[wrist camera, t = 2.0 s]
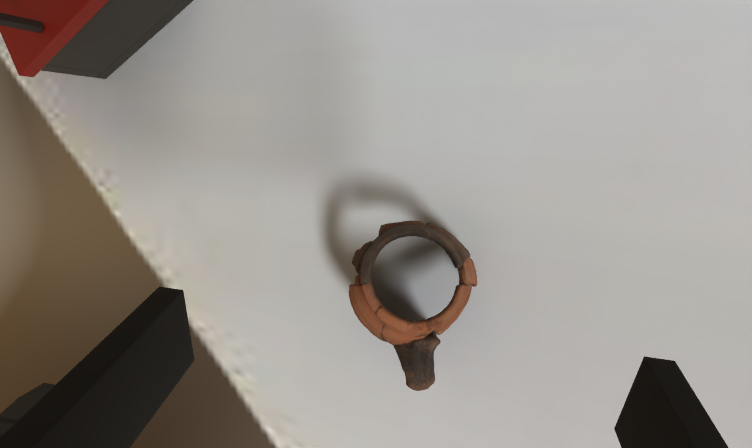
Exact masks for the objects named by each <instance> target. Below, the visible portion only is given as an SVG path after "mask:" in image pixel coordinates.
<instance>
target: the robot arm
mask: <svg viewBox="0 0 752 448" xmlns="http://www.w3.org/2000/svg"><path fill="white" fill-rule="evenodd" d="M193 361H194V355H193V348H192V342H191V336H190V330H189V324H188V317H187V311H186V305H185V299H184V292H183V290H178V289H171V288H164V287H159V288H158V289H157V290H156V291H155V292H153V293H152V294H151V295H150V296H149V297H148V298H147V299H146V300H145V301H144V302H143V303H142V304H141V305H140V306H139V307H138V308H136V309H135V310H134V311H133V312H132V313H131V314H130V315H129V316H128V317H127V318H126V319H125V320H124V321H123V322H122V323H121V324H120V325H119V326H117V327H116V328H115V329H114V330H113V331H112V332H111V333H110V334H109V335H108V336H107V337H106V338H105V339H104V340H103V341H102V342H101V343H100V344H99V345H97V346H96V347H95V348H94V349H93V350H92V351H91V352H90V353H89V354H88V355H87V356H86V357H85V358H84V359H83V360H82V361H80V362H79V363H78V364H77V365H76V366H75V367H74V368H73V369H72V370H71V371H70V372H69V373H68V374H67V375H66V376H65V377H64V378H63V379H62V380H60V381H59V382H58V383H57V384H56V385H52V384H47V383H43V384H41V385H40V386H38V387H36V388H34V389H33V390H31V391H29V392H27V393H26V394H24V395H22V396H21V397H19V398H18V399H16V400H15V401H14V402H13V403H12V404H11V405H10V406H9V407H8V408H6V409H5V410H4V411H3V412H2V413H1V414H0V448H130V447H131V445H132V444H133V443H134V441H135V440H136V439H137V437H138V436H139V435H140V433H141V432H142V430H143V429H144V428H145V426H146V425H147V424H148V422H149V421H150V420H151V418H152V417H153V415H154V414H155V413H156V411H157V410H158V409H159V407H160V406H161V405H162V403H163V402H164V401H165V399H166V398H167V396H168V395H169V393H171V391H172V390H173V388H174V387H175V385H176V384H177V383H178V382H179V380H180V379H181V378H182V376H183V375H184V373H185V372H186V371H187V370H188V368H189V367H190V365H191V364H192V363H193ZM614 429H615V432H616V434H617V437H618V440H619V442H620V445H621V447H622V448H728V446H727V445H726V443H725V441H724V440H723V438H722V437H721V435H720V433H719V432H718V430H717V428H716V427H715V425H714V424H713V422H712V420H711V419H710V417H709V416H708V414H707V412H706V411H705V409H704V408H703V406H702V404H701V403H700V401H699V399H698V398H697V396H696V395H695V393H694V391H693V390H692V388H691V387H690V385H689V383H688V382H687V380H686V378H685V377H684V375H683V374H682V372H681V370H680V369H679V367H678V366H677V364H676V362H675V361H671V360H664V359H657V358H650V357H644V358H643V361H642V363H641V365H640V368H639V370H638V373H637V375H636V378H635V380H634V382H633V385H632V387H631V390H630V392H629V394H628V397H627V399H626V402H625V404H624V407H623V409H622V411H621V414H620V416H619V419H618V421H617V423H616V426H615V428H614Z"/></svg>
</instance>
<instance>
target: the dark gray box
mask: <svg viewBox="0 0 752 448" xmlns="http://www.w3.org/2000/svg"><path fill="white" fill-rule="evenodd" d="M192 1H193V0H109V1H108V2H107V3H106V4H105V5H104V6H103V7H102V8H101V9H100V10H99V11H98V12H97V13H96V14H95V15H94V16H93V17H92V18H91V19H90V20H89V21H88V22H87V23H86V24H85V25H84V26H83V27H82V28H81V29H80V30H79V31H78V32H77V33H76V35H75V36H74V37H73V38H72V39H71V40H70V41H69V42H68V43H67V44H66V45H65V46H64V47H63V48H62V49H61V50H60V51H59V52H58V53H57V54H56V55H55V56H54V57H53V58H52V59H51V60H50V61H49V62H48V63H47V64H46V65H45V66H44V67H43V68H42V69H41V70H42V71H50V72H57V73H65V74H72V75H80V76H87V77H95V78H102V79H106V78H107V77H108V76H109V75H110V74H112V73H113V72H114V71H115V70H116V69H117V68H118V67H119V66H120V65H122V64H123V63H124V62H125V61H126V60H127V59H128V58H129V57H131V56H132V55H133V54H134V53H135V52H136V51H137V50H138V49H139V48H141V47H142V46H143V45H144V44H145V43H146V42H147V41H148V40H150V39H151V38H152V37H153V36H154V35H155V34H156V33H157V32H159V31H160V30H161V29H162V28H163V27H164V26H165V25H166V24H167V23H169V22H170V21H171V20H172V19H173V18H174V17H175V16H176V15H178V14H179V13H180V12H181V11H182V10H183V9H184V8H185V7H186V6H188V5H189V4H190V3H191V2H192Z"/></svg>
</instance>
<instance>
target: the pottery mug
mask: <svg viewBox="0 0 752 448" xmlns="http://www.w3.org/2000/svg"><path fill="white" fill-rule="evenodd" d="M406 236H418V237H423V238H427V239H429V240H431V241H433V242H435V243H436V244H438V245H439V246H440V247H442V248H443V249H444V250H445V251H446V253H447V254H448V255H449V257H450V258H451V260H452V262H453V264H454V266H455V267H456V268H458V271H459V285H457V286H456V289H455V292H454V295H453V298H452V300H451V301H450V303H449V304H448V306H447V307H446V308H445V309H444V310H443V311H442V312H440V313H439V314H437V315H436V316H434V317H431V318H428V319H426V320H420V321H414V320H406V319H403V318H400V317H398V316H396V315H394V314H392V313H391V312H389V311H388V310H387V309H386V308H385V307H384V306H383V305H382V304H381V302H380V301H379V299H378V298H377V296H376V294H375V291H374V287H373V284H372V268H373V264H374V261H375V259H376V257H377V255H378V254H379V252H380V251H381V250H382V248H383V247H384V246H385V245H386V244H388V243H389V242H391V241H393V240H395V239H398V238H401V237H406ZM352 263H353V265H354V266H355V269H356V272H357V273H358V275H359V276H356V277H355V285H353V284H351V285H349V297H350V302H351V305H352V307H353V310H354V312H355V314H356V316H357V317H358V319H359V320H360V322H361V323H362V324H363V325H364V326H365V327H366V328H367V329H368V330H369V331H370V332H371V333H372V334H373V335H374V336H376V337H377V338H379V339H380V340H382V341H385V342H389V343H390V344H392V345H394V348H395V350H396V352H397V354H398V357H399V359H400V362H401V366H402V369H403V371H404V372H405V376H406V385H407V386H408V387H409V388H411V389H413V390H416V391H420V390H425V389H428V388H429V387H430V386H431V385H432V384H433V383H434V381H435V374H434V358H433V355H434V350H435V348H436V347H437V346H438V345H439V344H440V340H439V339H438V338H437V336H436V333H437V334H438V335H440V334H442V333H443V332H444V331H445V330H446V329H448V328H449V327H450V325H451V324H452V323H453V322H454V321H455V320H456V319H457V318H458V317H459V315H460V314H461V312H462V310H463V309H464V307H465V306H466V304H467V302H468V300H469V297H470V293H471V289H472V286H477V276H476V270H475V266H474V263H473V261H472V259H471V258H470V254H469V252H468V250H467V249H466V248H465V247H464V246H463V245H462V244H461V243H460V242H459V241H458V240H457V239H456V238H455V237H454V236H452V235H451V234H450V233H448V232H447V231H445V230H444V229H442V228H440V227H438V226H436V225H433V224H430V223H428V224H427V225H425V224H423V223H422V222H420V221H404V222H398V223H390V224H389V223H388V224H385V225H381V228H380V230H379V236H378V237H377V238H376V239H375V240H374V241H370V242H368V243H366V244H364V245H363V246H362V248H361V249H358V250H357V251H356V252H355V255H354V257H353V260H352Z"/></svg>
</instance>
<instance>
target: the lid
mask: <svg viewBox="0 0 752 448" xmlns="http://www.w3.org/2000/svg"><path fill="white" fill-rule="evenodd" d="M108 1H109V0H0V32H1V35H2V37H3V39H4V41H5V44H6V46H7V48H8V51H9V53H10V55H11V58H12V60H13V62H14V65H15V67H16V69H17V72H18V74H19V75H20V76H28V77H34V76H35V75H36V74H37V73H38V72H39V71H40V70H41V69H42V68H43V67H44V66H45V65H46V64H47V63H48V62H49V61H50V60H51V59H52V58H53V57H54V56H55V55H56V54H57V53H58V52H59V51H60V50H61V49H62V48H63V47H64V46H65V45H66V44H67V43H68V42H69V41H70V40H71V39H72V38H73V37H74V36H75V35H76V33H77V32H78V31H79V30H80V29H81V28H82V27H83V26H84V25H85V24H86V23H87V22H88V21H89V20H90V19H91V18H92V17H93V16H94V15H95V14H96V13H97V12H98V11H99V10H100V9H101V8H102V7H103V6H104V5H105V4H106V3H107V2H108Z"/></svg>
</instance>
